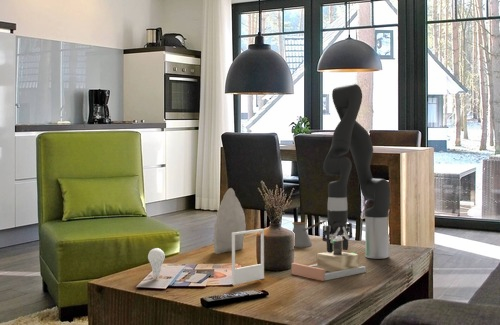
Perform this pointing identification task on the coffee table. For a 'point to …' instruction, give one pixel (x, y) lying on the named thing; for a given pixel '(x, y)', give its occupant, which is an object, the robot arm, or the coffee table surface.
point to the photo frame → (249, 271)
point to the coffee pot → (303, 234)
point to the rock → (229, 224)
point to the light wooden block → (337, 259)
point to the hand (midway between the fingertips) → (337, 251)
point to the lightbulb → (156, 260)
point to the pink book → (323, 272)
